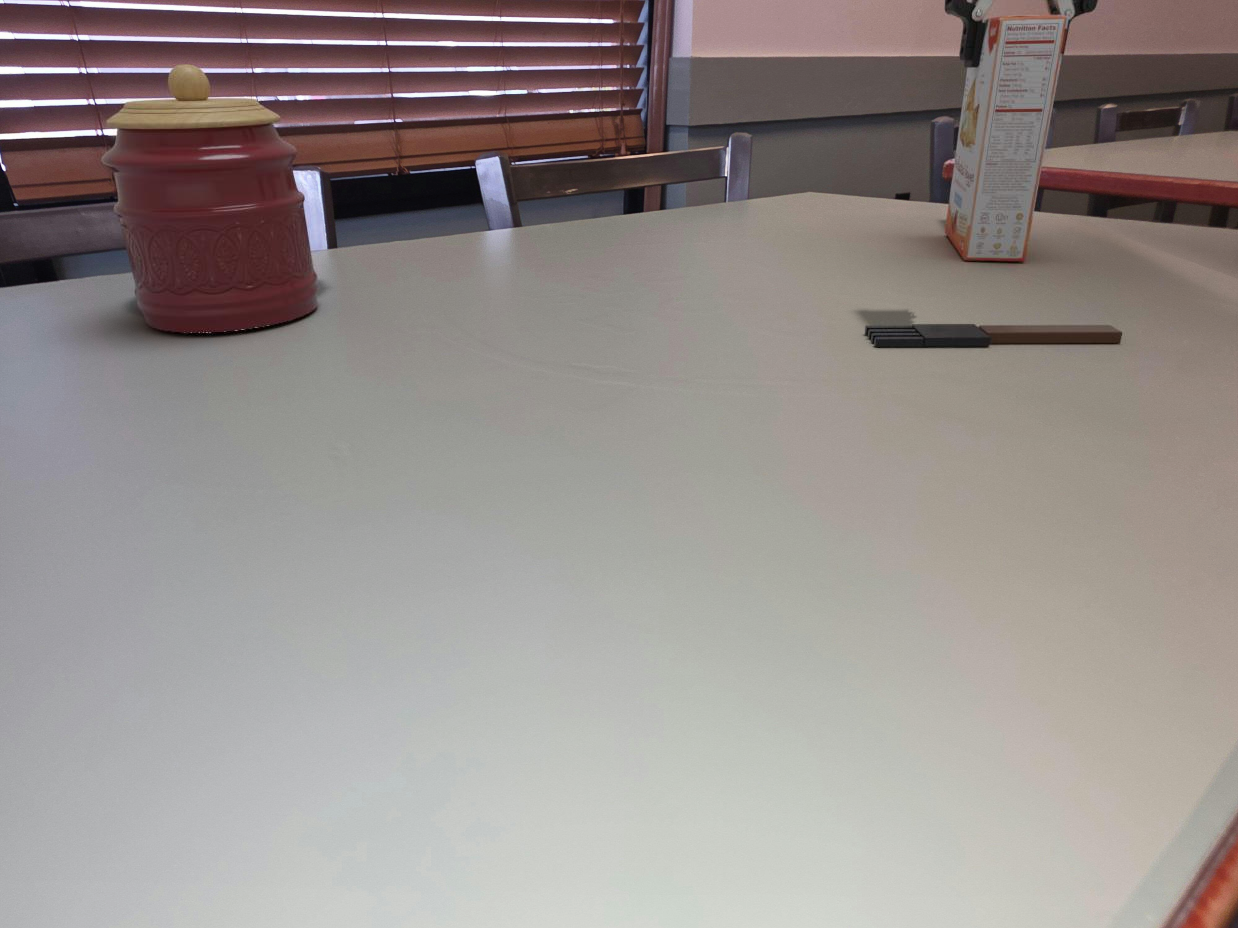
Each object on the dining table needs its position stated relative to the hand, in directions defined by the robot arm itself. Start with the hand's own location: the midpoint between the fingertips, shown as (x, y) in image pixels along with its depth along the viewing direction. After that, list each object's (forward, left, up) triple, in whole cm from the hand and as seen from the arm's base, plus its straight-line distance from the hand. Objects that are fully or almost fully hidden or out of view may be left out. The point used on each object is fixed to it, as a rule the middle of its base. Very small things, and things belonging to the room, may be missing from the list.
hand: (1009, 67), depth 81 cm
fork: (+10, +31, -17) cm, 37 cm away
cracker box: (0, 0, -17) cm, 17 cm away
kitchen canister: (+66, +24, -17) cm, 72 cm away
